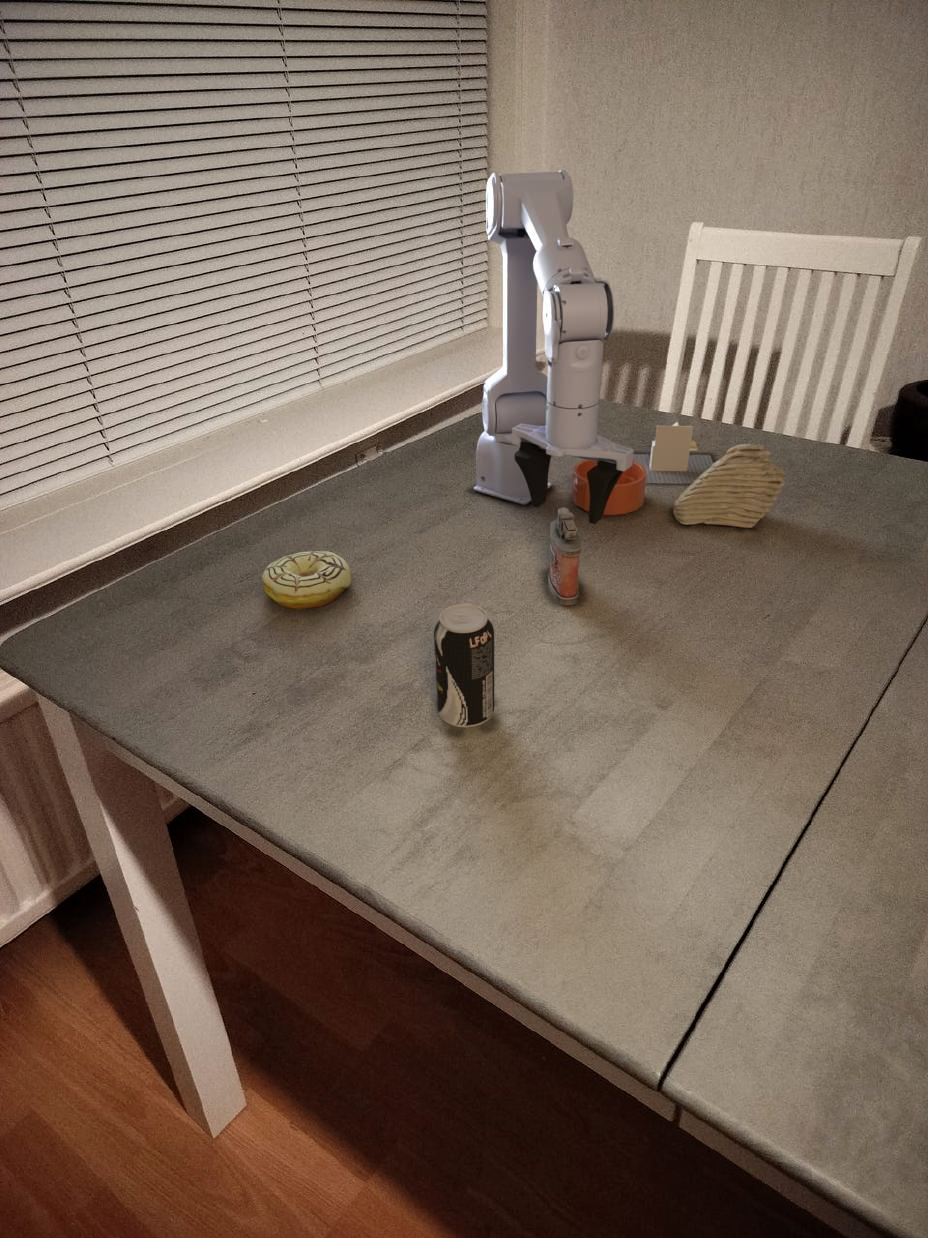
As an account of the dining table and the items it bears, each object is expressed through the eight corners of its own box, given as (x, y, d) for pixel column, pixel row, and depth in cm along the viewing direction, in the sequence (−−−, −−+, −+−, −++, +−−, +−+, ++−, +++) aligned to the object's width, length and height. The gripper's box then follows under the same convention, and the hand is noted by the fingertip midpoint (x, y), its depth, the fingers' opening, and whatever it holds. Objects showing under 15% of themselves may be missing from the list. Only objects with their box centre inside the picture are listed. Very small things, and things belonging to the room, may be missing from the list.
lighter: (544, 571, 106) (546, 501, 101) (570, 569, 107) (574, 499, 101) (555, 605, 100) (558, 532, 94) (582, 603, 100) (587, 530, 94)
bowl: (559, 506, 122) (561, 475, 119) (593, 481, 129) (595, 451, 126) (623, 524, 117) (626, 492, 114) (654, 497, 124) (658, 466, 121)
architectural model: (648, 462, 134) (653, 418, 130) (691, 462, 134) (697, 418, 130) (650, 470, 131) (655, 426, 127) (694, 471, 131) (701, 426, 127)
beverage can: (439, 695, 86) (434, 599, 79) (494, 695, 86) (494, 599, 79) (436, 732, 81) (431, 633, 75) (494, 733, 81) (494, 633, 74)
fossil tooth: (670, 516, 121) (776, 509, 119) (676, 535, 116) (787, 527, 114) (672, 441, 115) (783, 432, 113) (678, 457, 110) (795, 448, 108)
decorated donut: (368, 591, 103) (365, 566, 101) (295, 625, 98) (290, 598, 95) (322, 561, 110) (318, 536, 108) (250, 590, 104) (245, 565, 102)
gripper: (497, 398, 91) (497, 509, 98) (616, 424, 83) (606, 542, 91) (531, 381, 95) (528, 488, 103) (646, 403, 88) (634, 517, 96)
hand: (567, 512), depth 97 cm, fingers open, 7 cm apart
